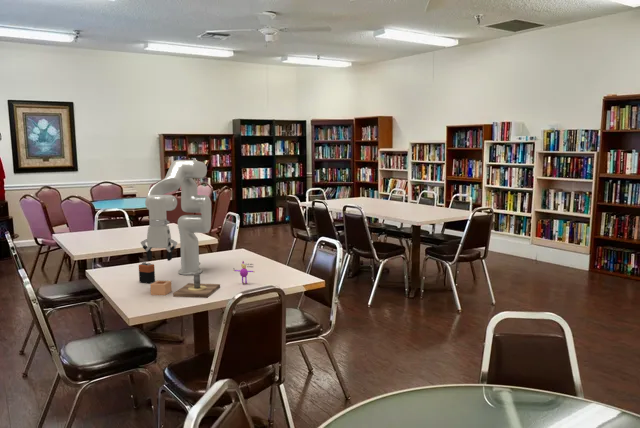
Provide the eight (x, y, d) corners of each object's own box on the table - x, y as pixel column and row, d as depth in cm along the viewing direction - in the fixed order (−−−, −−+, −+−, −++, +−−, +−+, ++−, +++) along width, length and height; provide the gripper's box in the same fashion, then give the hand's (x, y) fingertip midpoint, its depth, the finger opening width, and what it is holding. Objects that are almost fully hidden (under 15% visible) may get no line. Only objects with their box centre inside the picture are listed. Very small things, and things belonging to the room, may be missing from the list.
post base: (188, 286, 245) (188, 268, 244) (220, 287, 243) (219, 269, 242) (173, 296, 227) (172, 277, 226) (207, 297, 225) (206, 278, 224)
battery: (145, 280, 257) (144, 261, 255) (155, 281, 254) (154, 262, 253) (139, 282, 253) (138, 263, 251) (149, 283, 250) (148, 264, 249)
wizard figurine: (255, 283, 249) (255, 260, 247) (253, 285, 246) (253, 261, 244) (234, 282, 251) (234, 259, 250) (232, 284, 248) (231, 260, 247)
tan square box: (157, 290, 237) (157, 280, 237) (171, 291, 236) (171, 280, 236) (150, 294, 230) (150, 284, 230) (165, 295, 230) (164, 284, 229)
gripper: (179, 222, 232) (180, 258, 234) (144, 222, 234) (145, 257, 236) (172, 224, 224) (174, 262, 226) (136, 224, 227) (138, 261, 229)
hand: (159, 259), depth 231 cm, fingers open, 9 cm apart
